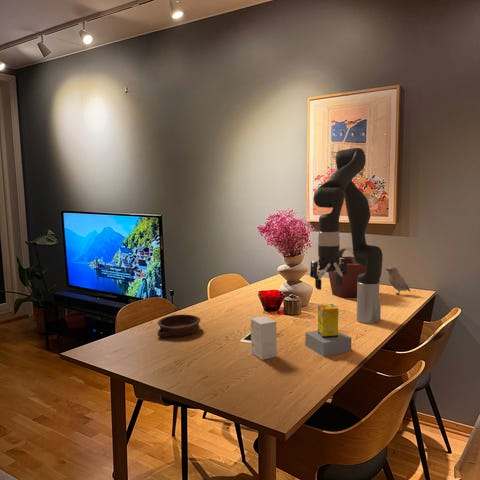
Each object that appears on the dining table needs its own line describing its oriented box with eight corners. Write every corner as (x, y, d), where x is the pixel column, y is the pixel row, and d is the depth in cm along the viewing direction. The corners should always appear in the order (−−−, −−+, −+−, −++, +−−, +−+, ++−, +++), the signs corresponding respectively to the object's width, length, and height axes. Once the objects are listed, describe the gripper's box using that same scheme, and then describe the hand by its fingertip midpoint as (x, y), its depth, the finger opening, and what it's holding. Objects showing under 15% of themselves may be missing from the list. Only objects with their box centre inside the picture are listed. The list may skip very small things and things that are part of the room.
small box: (277, 357, 162) (276, 321, 160) (261, 360, 159) (261, 324, 157) (266, 349, 169) (265, 315, 167) (250, 352, 167) (250, 318, 165)
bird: (383, 293, 245) (384, 265, 243) (409, 293, 243) (410, 265, 241) (385, 295, 240) (385, 267, 238) (411, 296, 238) (412, 267, 236)
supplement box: (317, 332, 171) (317, 304, 170) (332, 331, 172) (333, 303, 170) (322, 338, 165) (322, 309, 164) (338, 337, 166) (338, 308, 165)
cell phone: (239, 342, 177) (239, 341, 177) (255, 329, 192) (255, 328, 192) (258, 345, 174) (258, 344, 174) (272, 332, 189) (272, 330, 189)
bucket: (375, 300, 231) (376, 251, 227) (331, 301, 231) (331, 252, 228) (362, 288, 255) (363, 244, 252) (323, 289, 255) (323, 245, 252)
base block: (331, 340, 177) (331, 327, 176) (351, 350, 166) (351, 337, 166) (305, 345, 172) (305, 332, 172) (323, 356, 162) (323, 343, 161)
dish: (212, 328, 195) (212, 316, 194) (176, 344, 177) (176, 331, 176) (182, 321, 205) (181, 310, 204) (145, 335, 187) (144, 323, 186)
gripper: (338, 240, 170) (338, 283, 172) (306, 243, 164) (306, 287, 167) (351, 243, 163) (351, 287, 165) (317, 246, 157) (317, 292, 160)
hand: (328, 287), depth 166 cm, fingers open, 8 cm apart
